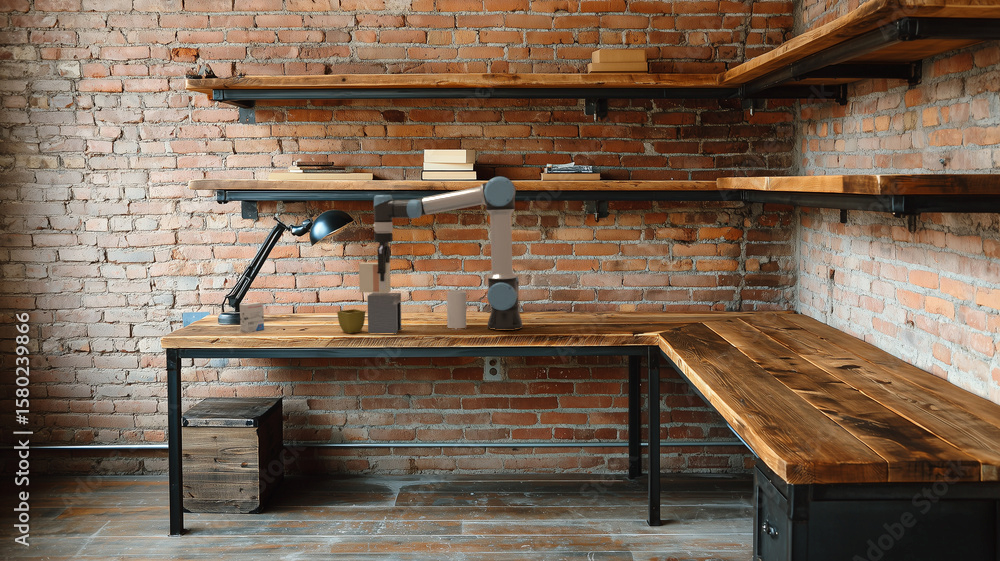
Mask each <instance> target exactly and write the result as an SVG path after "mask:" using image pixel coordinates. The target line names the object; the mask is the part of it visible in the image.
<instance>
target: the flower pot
mask: <svg viewBox="0 0 1000 561" xmlns="http://www.w3.org/2000/svg"><path fill="white" fill-rule="evenodd" d="M336 313H337V319H338V324H339V327H340V329H341V330H342V331H343V333H347V332H348V333H347V334H353V332H355V333H360V332H361V331H362V329H363V327H364V324H365V321H366V320H365V319H366V318H365V317H366V310H359V309H355V308H353V309H345V310H337V311H336Z"/></svg>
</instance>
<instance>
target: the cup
mask: <svg viewBox="0 0 1000 561" xmlns="http://www.w3.org/2000/svg"><path fill="white" fill-rule="evenodd" d="M446 315H447V316H446V317H447V318H446V319H447V320H446V322H447V324H446V326H447V327H448V328H455V329H454V330H458V329H457V328H465V327H466V328H467V291H466V290H462V289H461V290H460V289H451V290H447V291H446ZM448 328H447V329H448ZM466 328H465V329H466Z"/></svg>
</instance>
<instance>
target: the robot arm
mask: <svg viewBox="0 0 1000 561" xmlns="http://www.w3.org/2000/svg"><path fill="white" fill-rule="evenodd" d="M516 192H517V191H516V186H515V183H514V182H513V181H512V180H510V179H509V178H507V177H505V176H495V177H493V178H491V179H489V181H488V182H484V183H481V184H480V186H476V187H471V188H466V189H461V190H456V191H451V192H445V193H440V194H434V195H430V196H429V195H428V196H424V197H419V198H414V199H393V196H392V195H391V194H376V195H374V197H373V207H372V208H373V222H374V223H373V225H372V226H373V227H374V228H373V231H374V235H373V238H374V243H378V247H377V250H376V251H377V263H378V272H377V273H379V286H380V289H386V271H385V269H386V263H390V264H391V261H390V259H391V256H390V255H391V253H390V250H391V249H390V248H391V246H389V243H392V242H393V241H394V240H393V239H394V238H393V235H394V234H393V233H392V232H393V230H394V228H393V227H394V226H393V219H419V218H421V217H422V216H426V215H432V214H437V213H442V212H448V211H454V210H459V209H465V208H470V207H475V206H479V205H480V206H481V205H484V206H485V208H486V209H485V211H486V212H487V213H488V215H489V223H490V224H489V225H490V226H489V227H490V255H491V256H490V259H491V265H490V266H491V273H490V274H489V275H488V277H487V281H488V282H487V283H488V284H487V285H488V286H487V287H488V288H487V289H488V291H487V294H486V298H487V302H488V303H489V305H490V306H491V312H490V315H489V318H488V321H487V328H488V327H490V328H495V329H515V328H520V327H522V328H523V320H522V317H521V314H520V312H519V297H520V296H519V290H520V289H519V286H520V281H519V276H517V275H516V274H514V272H513V242H512V240H513V237H512V236H513V235H512V213H514V211H515V204H516V203H515V197H516ZM391 272H392V270H391V269H390V273H391Z"/></svg>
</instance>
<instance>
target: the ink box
mask: <svg viewBox="0 0 1000 561" xmlns="http://www.w3.org/2000/svg"><path fill="white" fill-rule="evenodd" d="M239 318H240V320H239V321H240V323H239V324H240V332H243V333H252V332H257V331H264V330H265V319H264V318H265V316H264V303H263V302H259V301H254V302H246V303H239Z"/></svg>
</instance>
